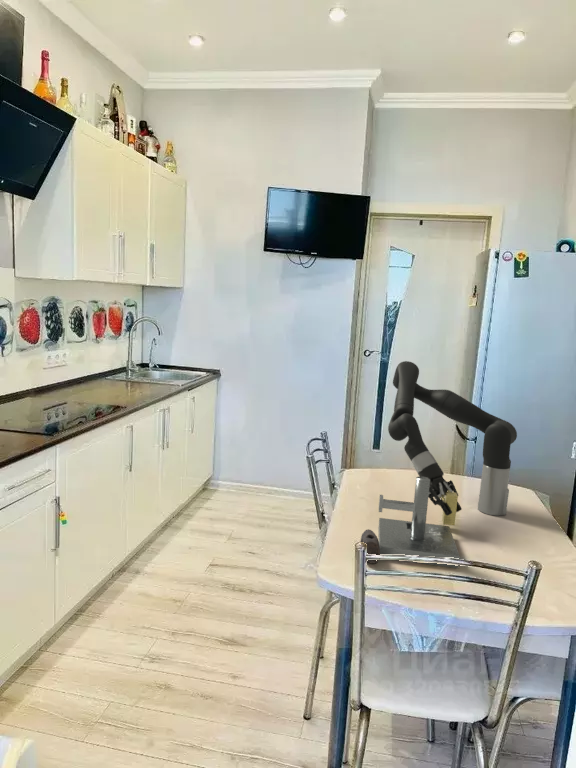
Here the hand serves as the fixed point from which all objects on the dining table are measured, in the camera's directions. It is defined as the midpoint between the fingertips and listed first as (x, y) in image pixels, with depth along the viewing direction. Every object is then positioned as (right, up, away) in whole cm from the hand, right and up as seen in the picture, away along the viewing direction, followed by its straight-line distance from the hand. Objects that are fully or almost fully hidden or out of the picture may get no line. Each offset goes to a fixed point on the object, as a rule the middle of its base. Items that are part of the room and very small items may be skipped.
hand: (454, 512), depth 179 cm
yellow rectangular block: (-1, -4, +2) cm, 5 cm away
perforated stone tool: (-31, -8, -21) cm, 39 cm away
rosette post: (-16, -7, -13) cm, 22 cm away
